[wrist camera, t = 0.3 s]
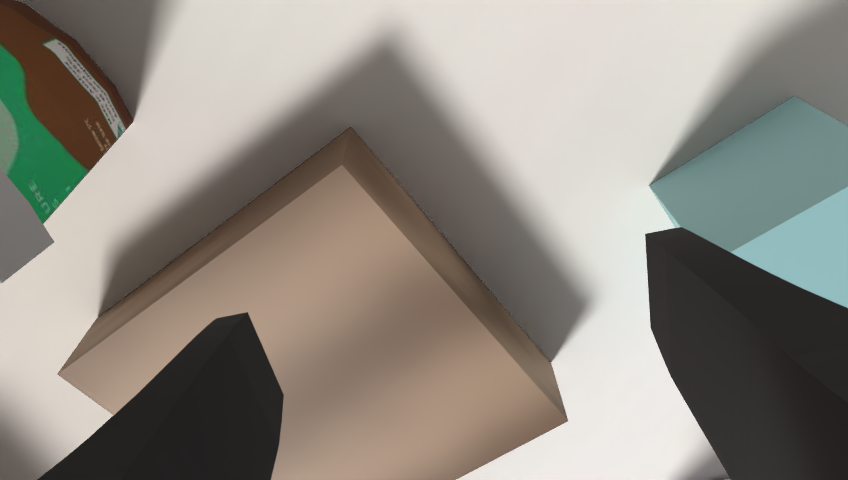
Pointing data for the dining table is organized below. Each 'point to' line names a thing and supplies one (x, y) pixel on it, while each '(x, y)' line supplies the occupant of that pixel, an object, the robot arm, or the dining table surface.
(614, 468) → the dining table surface
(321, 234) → the walnut base
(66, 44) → the food container
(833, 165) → the teal cube
